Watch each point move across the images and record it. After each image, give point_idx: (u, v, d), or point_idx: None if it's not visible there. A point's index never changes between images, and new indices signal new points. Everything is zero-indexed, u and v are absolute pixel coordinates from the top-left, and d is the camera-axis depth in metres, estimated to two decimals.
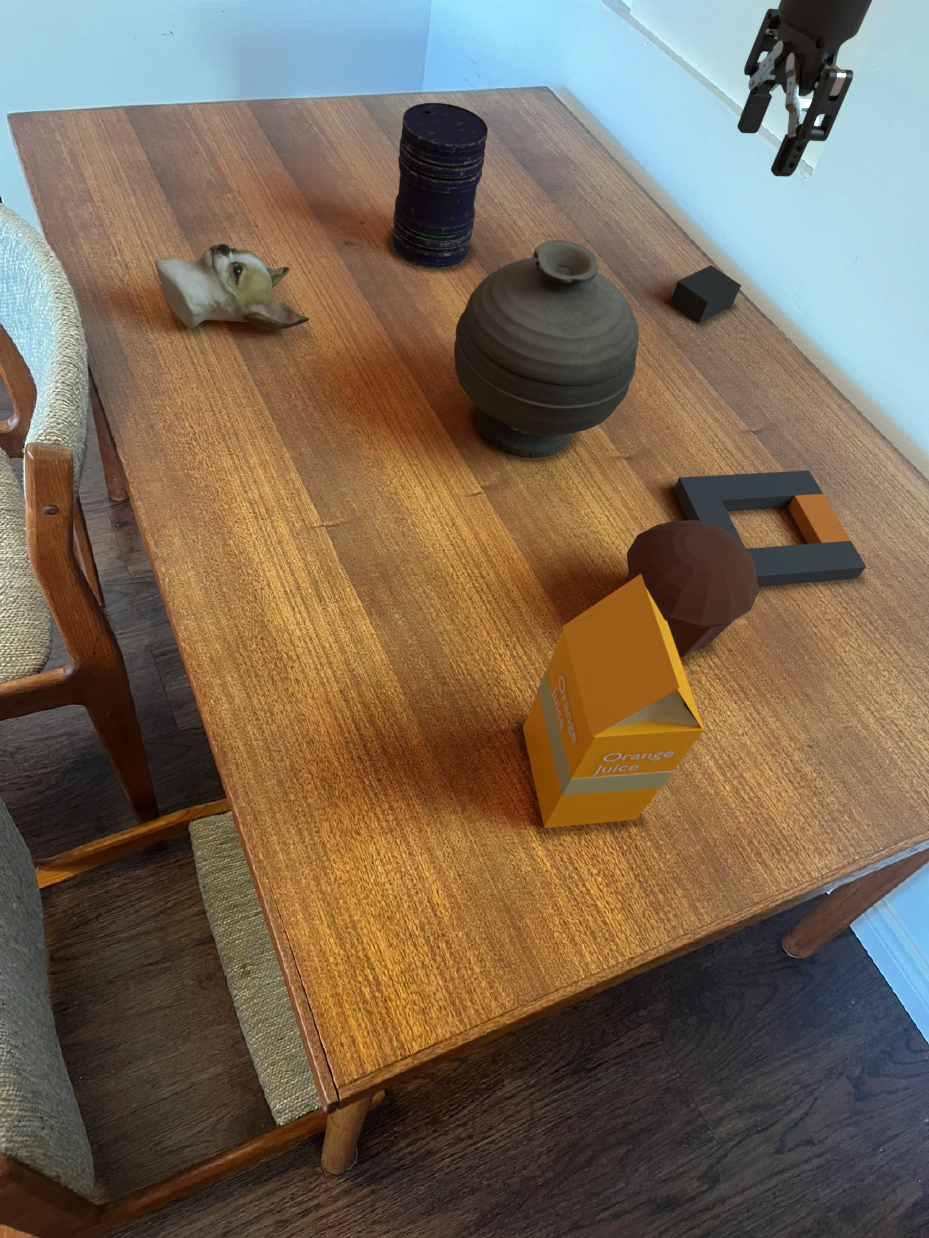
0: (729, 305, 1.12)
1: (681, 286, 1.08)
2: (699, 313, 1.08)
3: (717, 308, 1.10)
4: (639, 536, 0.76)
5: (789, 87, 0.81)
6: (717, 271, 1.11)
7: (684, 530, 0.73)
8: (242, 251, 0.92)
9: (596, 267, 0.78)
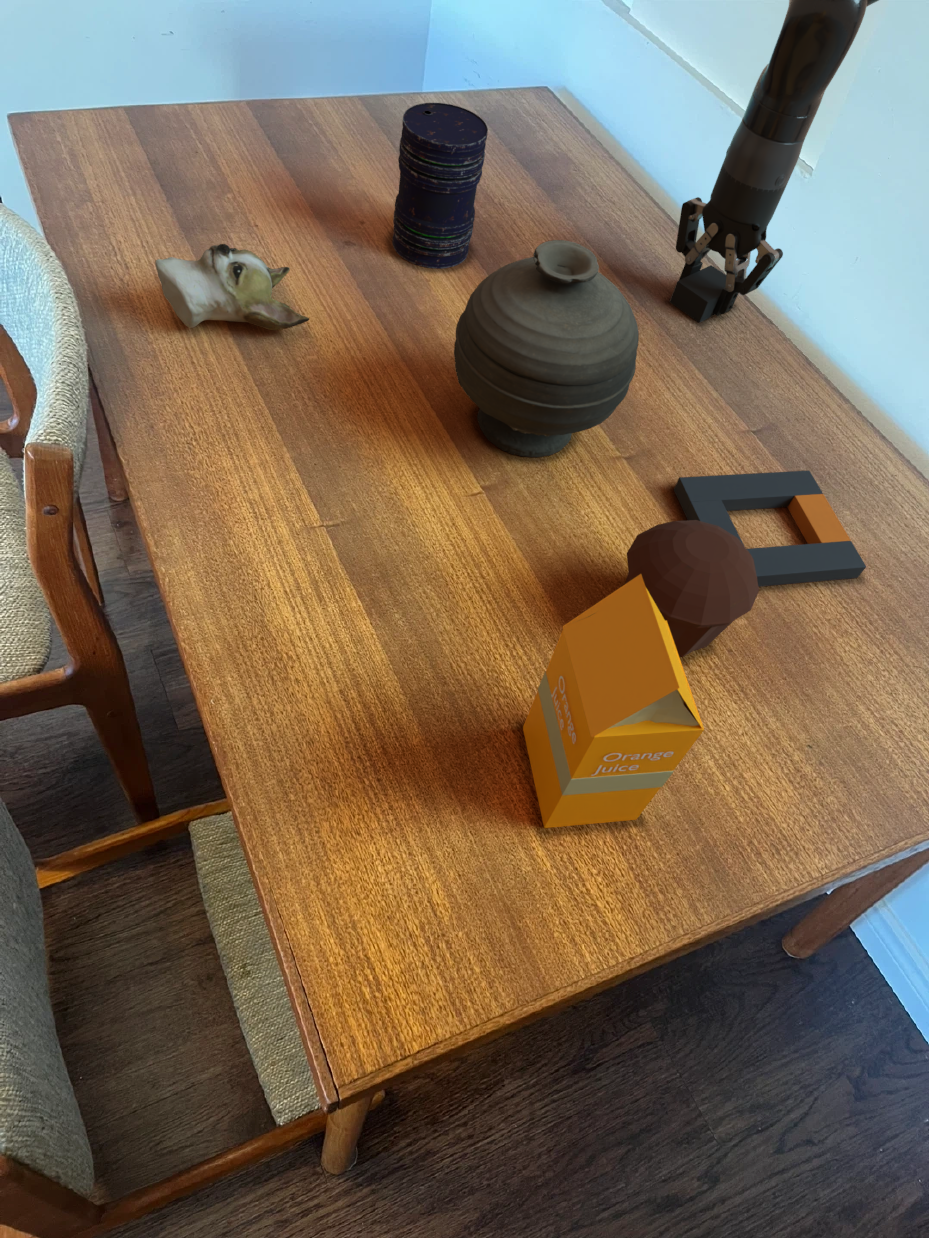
0: None
1: (681, 286, 1.08)
2: (699, 313, 1.08)
3: None
4: (639, 536, 0.76)
5: (733, 257, 1.03)
6: (717, 271, 1.11)
7: (684, 530, 0.73)
8: (242, 251, 0.92)
9: (596, 267, 0.78)
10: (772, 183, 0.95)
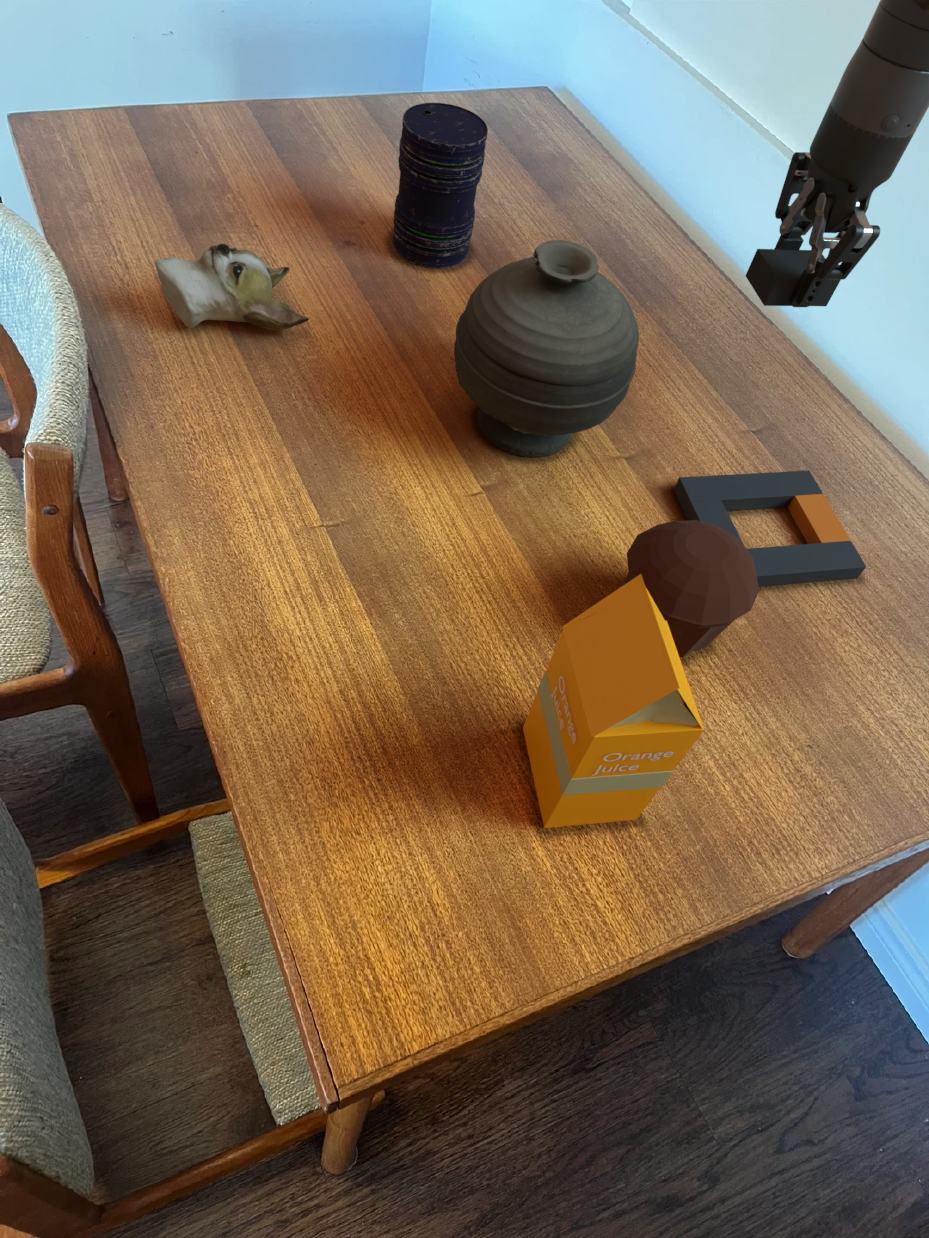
0: (821, 303, 0.87)
1: (758, 256, 0.86)
2: (766, 293, 0.85)
3: None
4: (639, 536, 0.76)
5: (819, 226, 0.80)
6: (821, 258, 0.87)
7: (684, 530, 0.73)
8: (242, 251, 0.92)
9: (596, 267, 0.78)
10: (877, 124, 0.72)
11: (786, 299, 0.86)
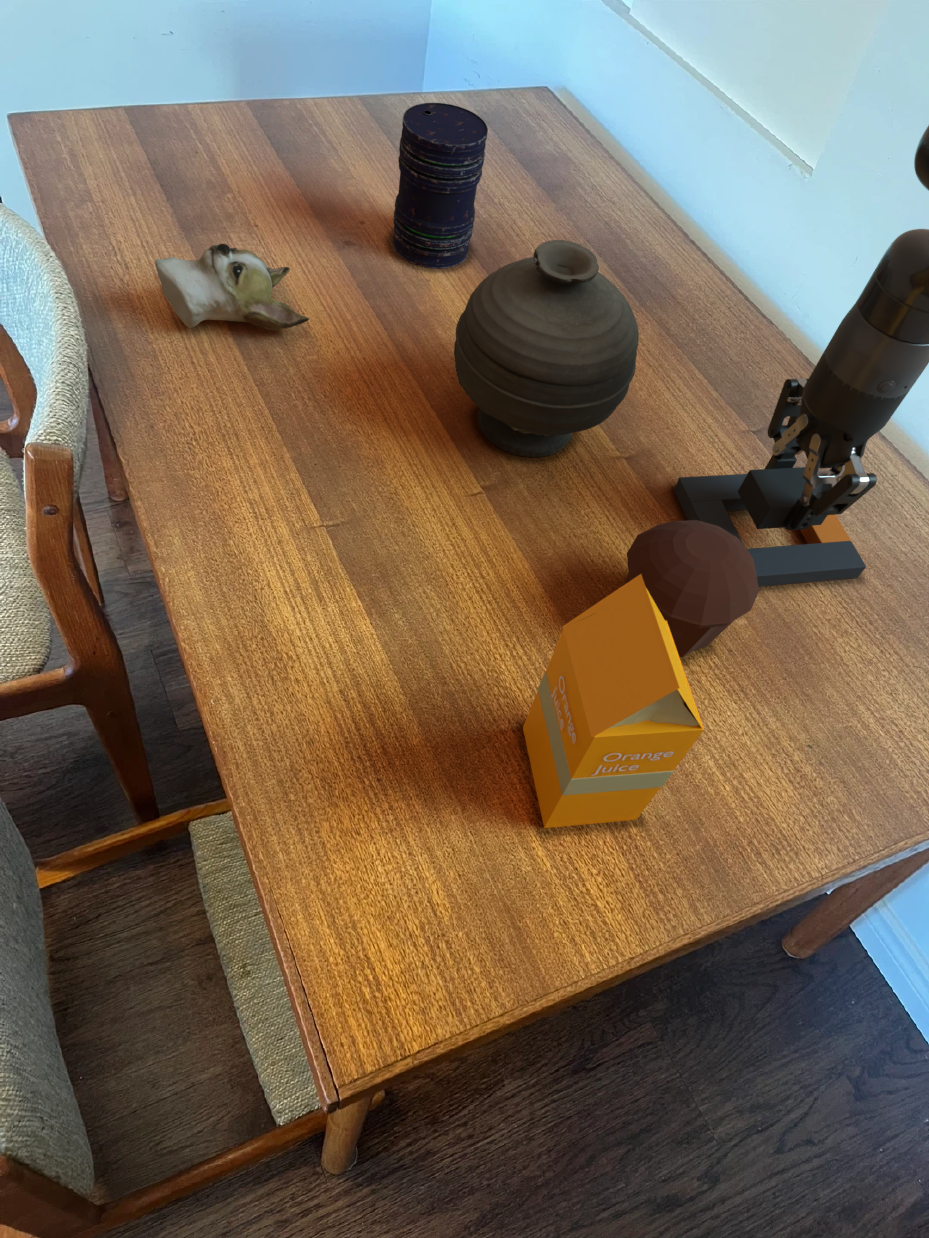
0: (815, 523, 0.85)
1: (751, 477, 0.84)
2: (760, 517, 0.83)
3: None
4: (639, 536, 0.76)
5: (814, 464, 0.77)
6: None
7: (684, 530, 0.73)
8: (242, 251, 0.92)
9: (596, 267, 0.78)
10: (873, 386, 0.69)
11: (780, 522, 0.84)
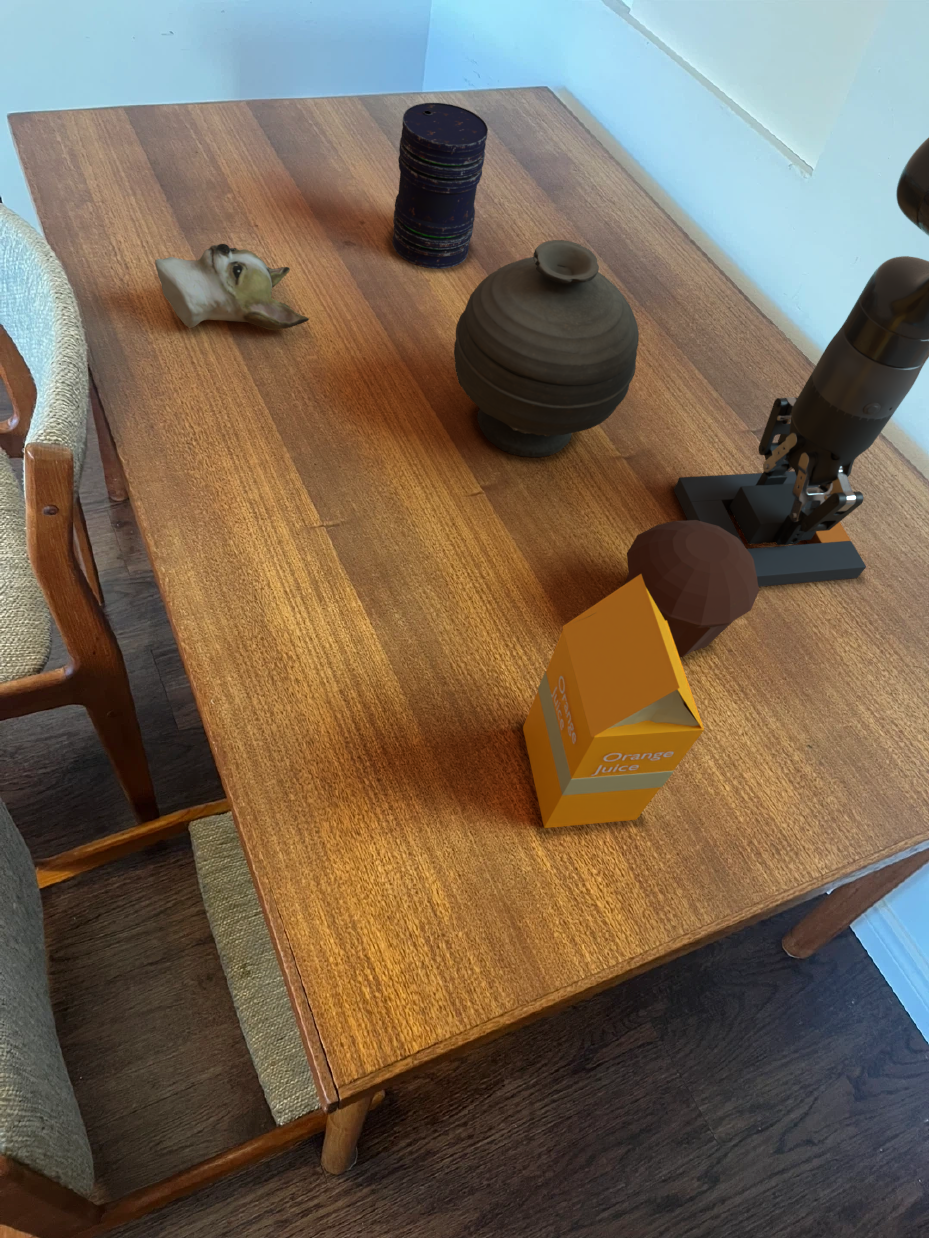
0: (805, 538, 0.87)
1: (742, 494, 0.86)
2: (750, 533, 0.85)
3: None
4: (639, 536, 0.76)
5: (803, 482, 0.79)
6: None
7: (684, 530, 0.73)
8: (242, 251, 0.92)
9: (596, 267, 0.78)
10: (858, 408, 0.71)
11: (770, 538, 0.85)
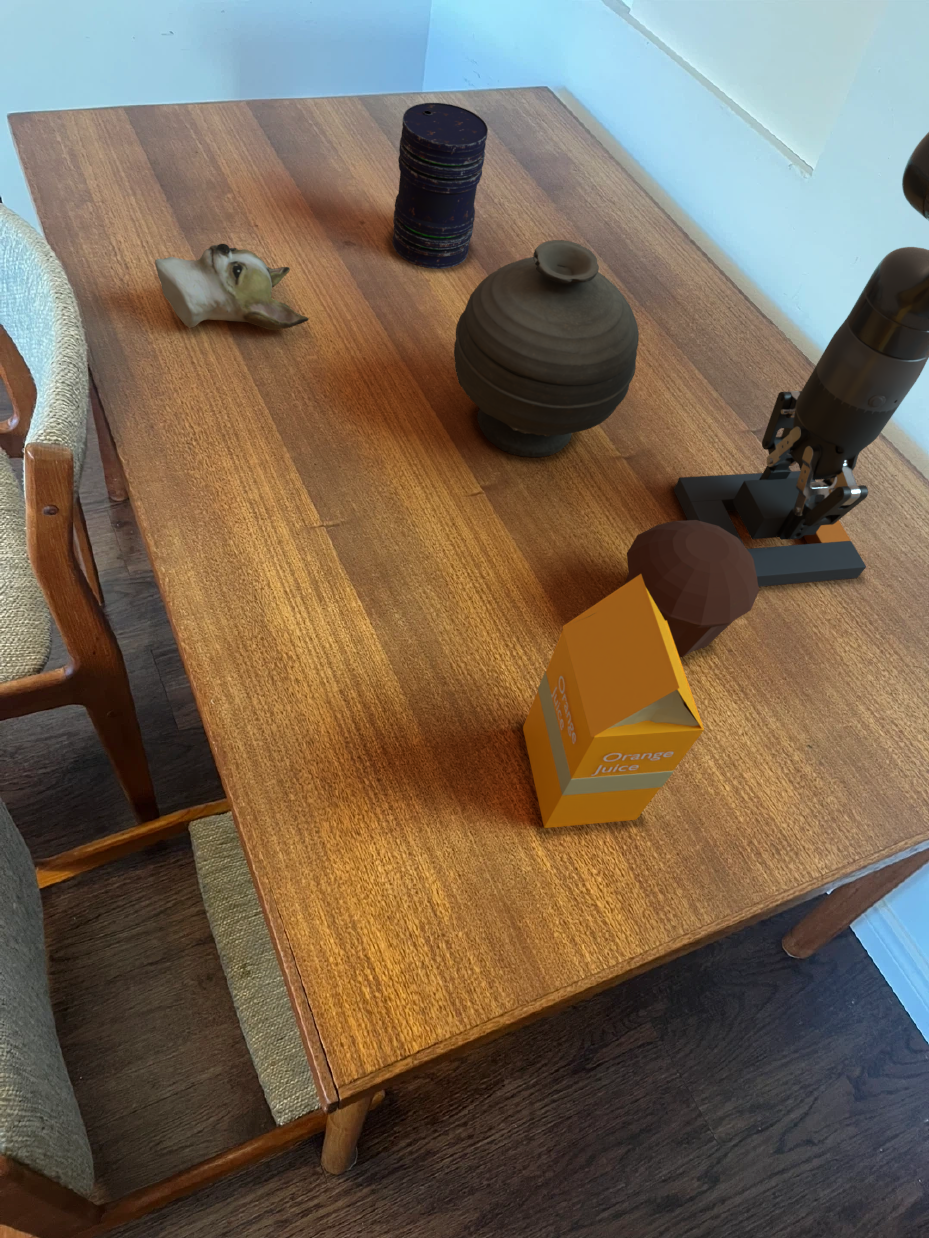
0: (809, 532, 0.86)
1: (745, 488, 0.85)
2: (754, 528, 0.84)
3: None
4: (639, 536, 0.76)
5: (807, 476, 0.79)
6: None
7: (684, 530, 0.73)
8: (242, 251, 0.92)
9: (596, 267, 0.78)
10: (863, 401, 0.71)
11: (774, 532, 0.85)
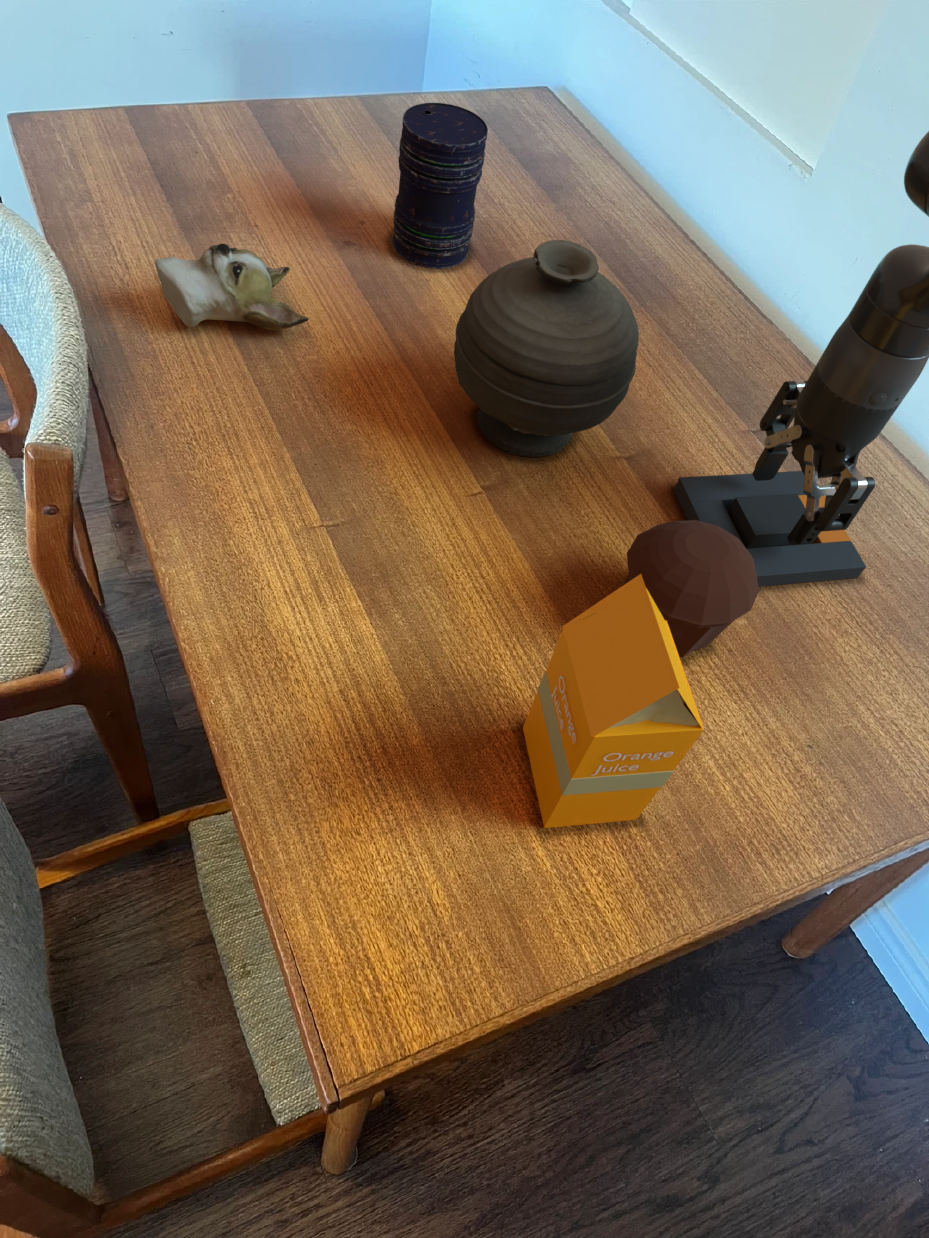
0: None
1: (737, 505, 0.87)
2: (745, 544, 0.86)
3: (775, 546, 0.87)
4: (639, 536, 0.76)
5: (807, 475, 0.78)
6: (799, 503, 0.88)
7: (684, 530, 0.73)
8: (242, 251, 0.92)
9: (596, 267, 0.78)
10: (864, 399, 0.70)
11: None
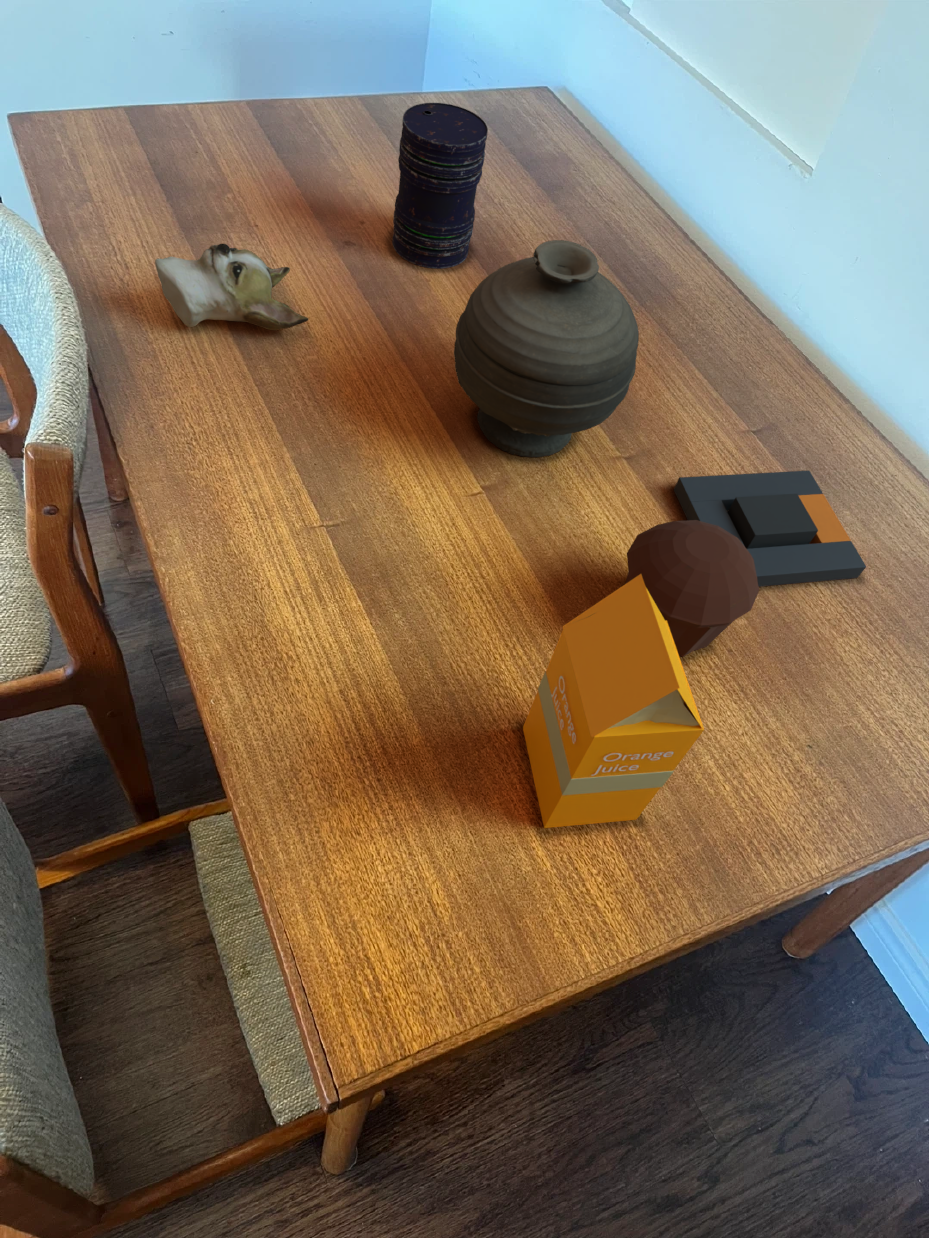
0: None
1: (737, 505, 0.87)
2: (745, 544, 0.86)
3: (775, 546, 0.87)
4: (639, 536, 0.76)
5: None
6: (799, 503, 0.88)
7: (684, 530, 0.73)
8: (242, 251, 0.92)
9: (596, 267, 0.78)
10: None
11: None
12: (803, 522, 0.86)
